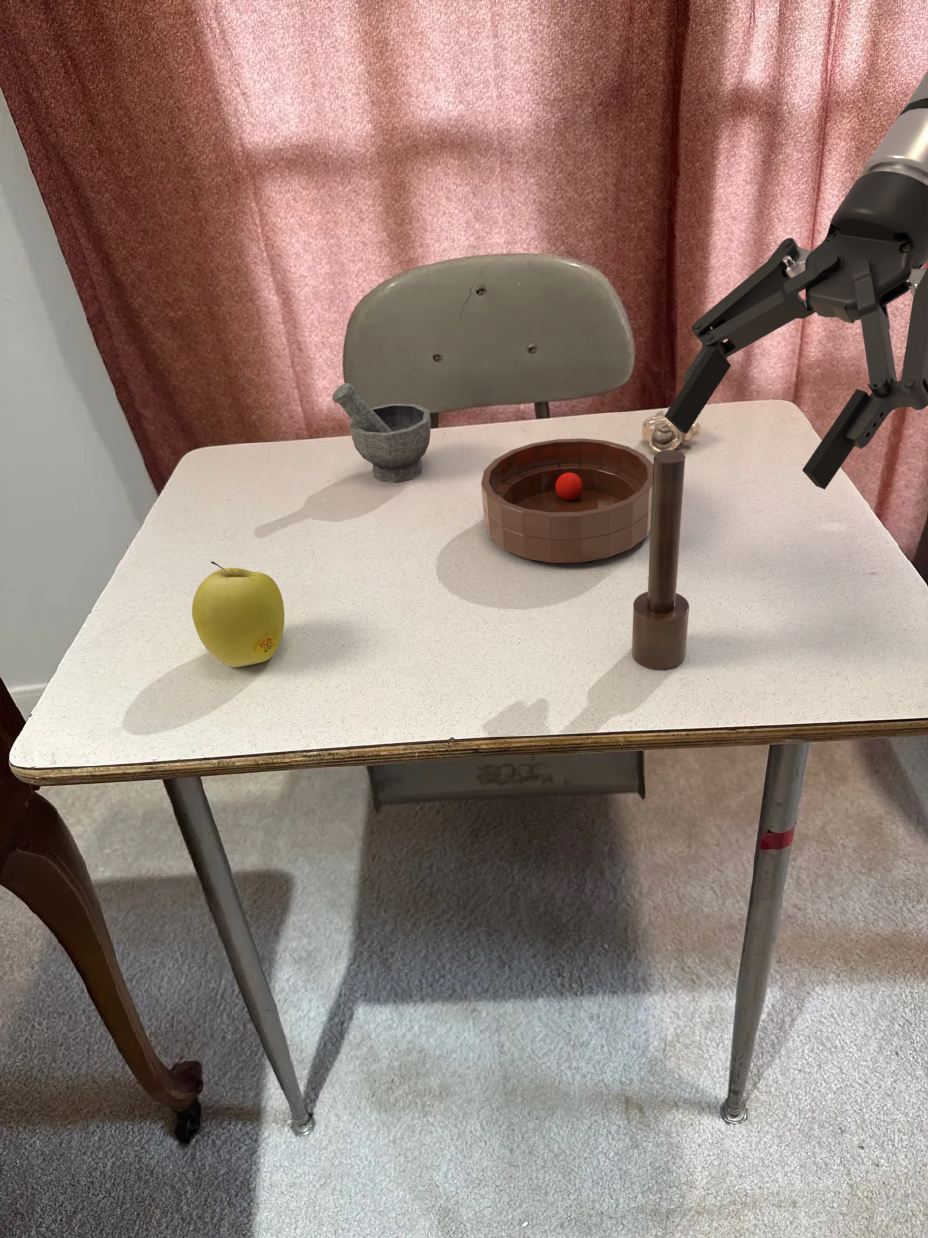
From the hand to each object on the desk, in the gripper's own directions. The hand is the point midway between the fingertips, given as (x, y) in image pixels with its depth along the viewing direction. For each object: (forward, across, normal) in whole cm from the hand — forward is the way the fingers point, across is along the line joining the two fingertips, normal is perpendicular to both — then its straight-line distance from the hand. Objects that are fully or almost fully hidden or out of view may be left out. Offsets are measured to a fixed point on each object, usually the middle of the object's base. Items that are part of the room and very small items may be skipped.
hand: (738, 451), depth 64 cm
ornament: (-4, +30, -27) cm, 41 cm away
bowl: (+11, +22, -12) cm, 27 cm away
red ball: (+7, +25, -12) cm, 29 cm away
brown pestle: (+16, 0, -6) cm, 18 cm away
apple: (+36, +23, +13) cm, 45 cm away
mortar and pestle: (+17, +47, -6) cm, 50 cm away
